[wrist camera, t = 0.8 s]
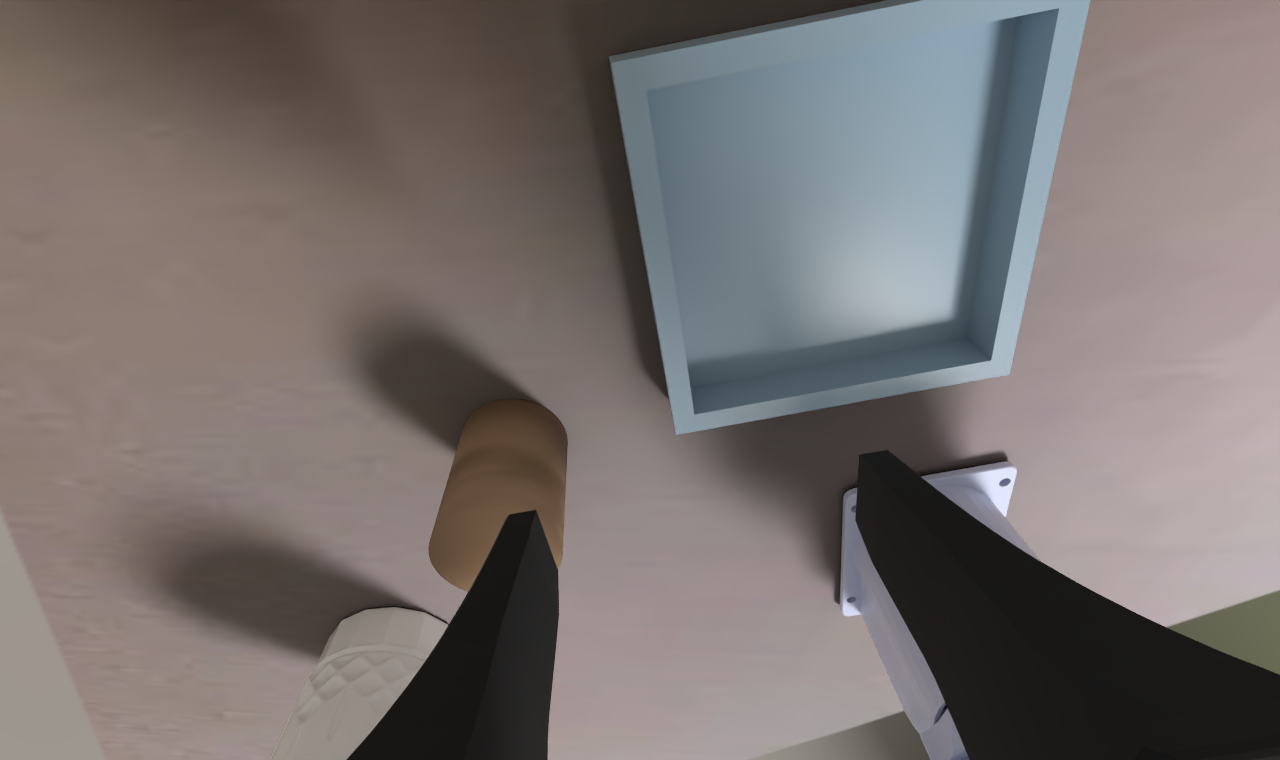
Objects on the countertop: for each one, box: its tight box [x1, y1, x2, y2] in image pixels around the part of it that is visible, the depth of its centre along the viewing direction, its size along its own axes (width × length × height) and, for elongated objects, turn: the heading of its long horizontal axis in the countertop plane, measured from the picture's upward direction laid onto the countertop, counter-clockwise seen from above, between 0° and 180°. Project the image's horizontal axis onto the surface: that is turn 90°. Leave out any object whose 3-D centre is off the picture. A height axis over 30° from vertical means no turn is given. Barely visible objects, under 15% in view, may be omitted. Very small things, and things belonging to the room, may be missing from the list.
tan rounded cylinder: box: [429, 399, 568, 592], centre depth 22 cm, size 4×4×6 cm
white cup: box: [269, 607, 448, 760], centre depth 27 cm, size 8×8×10 cm
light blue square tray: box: [609, 0, 1090, 435], centre depth 19 cm, size 13×13×2 cm
